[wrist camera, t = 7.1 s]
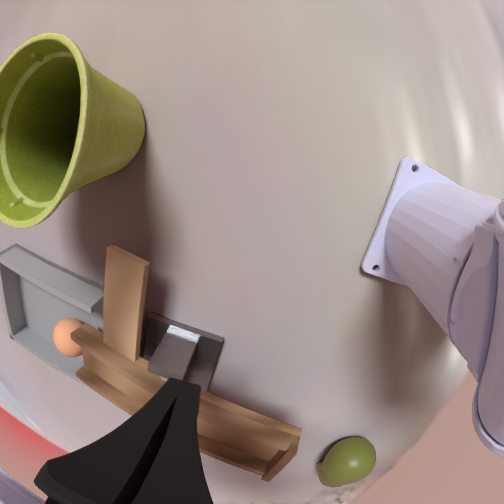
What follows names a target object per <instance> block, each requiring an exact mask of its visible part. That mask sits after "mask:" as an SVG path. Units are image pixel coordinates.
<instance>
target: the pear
mask: <svg viewBox="0 0 504 504" xmlns="http://www.w3.org/2000/svg"><path fill="white" fill-rule="evenodd" d="M375 461H376V451H375V448H374V446H373V445H372V444H371V443H370V442H369V441H368V440H366V439H364V438H360V437H350V438H346V439H343V440H341V441H339V442H337V443H336V444H335V445H334V446H333V447H332V448H331V449H330V450H329V452H328V453H327V455H326V457H325V459H324V461H323V462H320V463H318V464H317V470H318V471H319V479H320V481H321V483H322V484H323V485H325V486H329V487H339V486H342V485H345V484H350V483H353V482H356V481H358V480H361V479H362V478H364V477H365V476H367V475H368V474H369V473H370V472H371V470H372V469H373V467H374V465H375Z"/></svg>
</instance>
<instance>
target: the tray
mask: <svg viewBox="0 0 504 504" xmlns="http://www.w3.org/2000/svg"><path fill="white" fill-rule="evenodd" d="M0 291H1V297H2V302H3V307H4V312H5V317H6V321H7V325H8V330H9V333H10V337H11V338H12V339H13V340H14V341H16V342H17V343H18V344H20V345H21V346H22V347H24V348H25V349H27V350H28V351H29V352H31V353H32V354H34V355H35V356H37V357H38V358H40V359H41V360H43V361H44V362H46V363H47V364H49V365H51V366H52V367H54V368H55V369H57V370H59V371H60V372H62V373H64V374H65V375H67V376H69V377H70V378H72V379H74V380H76V381H78V382H79V383H81V384H83V385H85V386H87V387H89V386H88V385H87V384H85V383H84V382H83V381H81V380H80V379H79V378H78V377H76V371H78V370H79V369H80V368H81V367H82V366H84V362H83V354H82V355H80V356H78V357H69V356H66V355H64V354H63V353H61V352H60V351H59V350H58V348H57V347H56V345H55V343H54V339H53V332H54V328H55V326H56V325H57V323H58V322H59V321H60V320H62V319H64V318H75V319H78V320H80V321H81V322H82V323H83V324H85V323H86V322H87V323H88V324H90V325H91V326H93V327H94V328H96V329H97V330H99V331H100V332H102V333H103V306H104V286H102V285H100V284H97V283H95V282H93V281H90V280H88V279H86V278H84V277H82V276H79V275H77V274H75V273H73V272H71V271H69V270H67V269H65V268H62V267H60V266H58V265H56V264H54V263H52V262H50V261H48V260H46V259H44V258H42V257H40V256H38V255H36V254H34V253H33V252H31V251H29V250H27V249H25V248H23V247H21V246H19V245H18V244H15V245H13V246H11V247H9V248H7V249H5V250H3V251H1V252H0ZM89 388H90V389H92V388H91V387H89ZM92 390H93V389H92ZM94 391H95V390H94Z"/></svg>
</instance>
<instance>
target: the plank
mask: <svg viewBox="0 0 504 504" xmlns="http://www.w3.org/2000/svg"><path fill="white" fill-rule="evenodd" d="M149 270H150V262H148V261H146V260H144V259H142V258H139V257H137V256H135V255H133V254H131V253H129V252H127V251H125V250H123V249H121V248H119V247H117V246H115V245H111V246H108V247H107V253H106V265H105V280H104V306H103V333H102V332H100V331H99V330H97V329H96V328H94V327H93V326H91V325H90V324H88V323H87V322H86V323H85V324H83V325H82V326H80V327H79V328H77V329H76V330H74V331H73V332H71V333H70V337H71V340H73V341H74V342H75V343H76V344H78V345H79V346H80V347H82V353H83V362H84V366H82V367H81V368H80V369H79V370H78V371H76V377H78V378H79V379H80V380H81V381H83V382H84V383H85V384H87V385H88V386H89V387H91V388H92V389H93V390H95V391H96V392H98V393H99V394H100V395H102V396H103V397H105V398H106V399H107V400H109V401H110V402H112V403H113V404H115V405H116V406H118V407H119V408H121V409H122V410H124V411H126V412H127V413H129V414H130V415H132V416H133V415H134V414H135V413H136V412H137V411H139V410H140V409H141V408H142V407H143V406H144V405H145V404H146V403H147V402H148V401H149V400H150V399H151V398H152V397H153V396H154V395H155V394H156V393H157V392H158V391H159V389H160V388H161V387H162V386H163V385H164V384H165V382H166V381H167V380H168V379H167V378H164V377H161V376H159V375H156V374H154V373H151V372H149V371H147V370H148V362H149V361H147V360H145V359H143V358H142V357H140V344H141V333H142V323H143V314H144V306H145V298H146V290H147V283H148V276H149ZM182 381H184V380H182ZM301 430H302V428H299V427H296V426H293V425H290V424H287V423H284V422H281V421H278V420H275V419H273V418H270V417H267V416H264V415H262V414H259V413H256V412H254V411H251V410H249V409H246V408H244V407H241V406H239V405H236V404H234V403H232V402H229V401H227V400H225V399H222V398H220V397H218V396H216V395H213V394H211V393H209V392H207V391H205V390H202V389H201V394H200V405H199V413H198V418H197V434H198V444H199V451H200V452H202V453H204V454H207V455H209V456H211V457H214V458H216V459H218V460H221V461H223V462H226V463H228V464H231V465H234V466H236V467H239V468H242V469H245V470H247V471H250V472H253V473H256V474H259V475H262V480H265V481H268V482H269V481H270V480H271V479H272V478H273V477H274V476H275V475H276V474H277V473H278V472H279V471H281V470H282V469H283V468H284V467H285V466H286V465H287V464H288V463H289V462H290V461H291V460H292V458H293V457H294V456H295V455H296V454H297V449H298V445H299V440H300V435H301Z"/></svg>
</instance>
